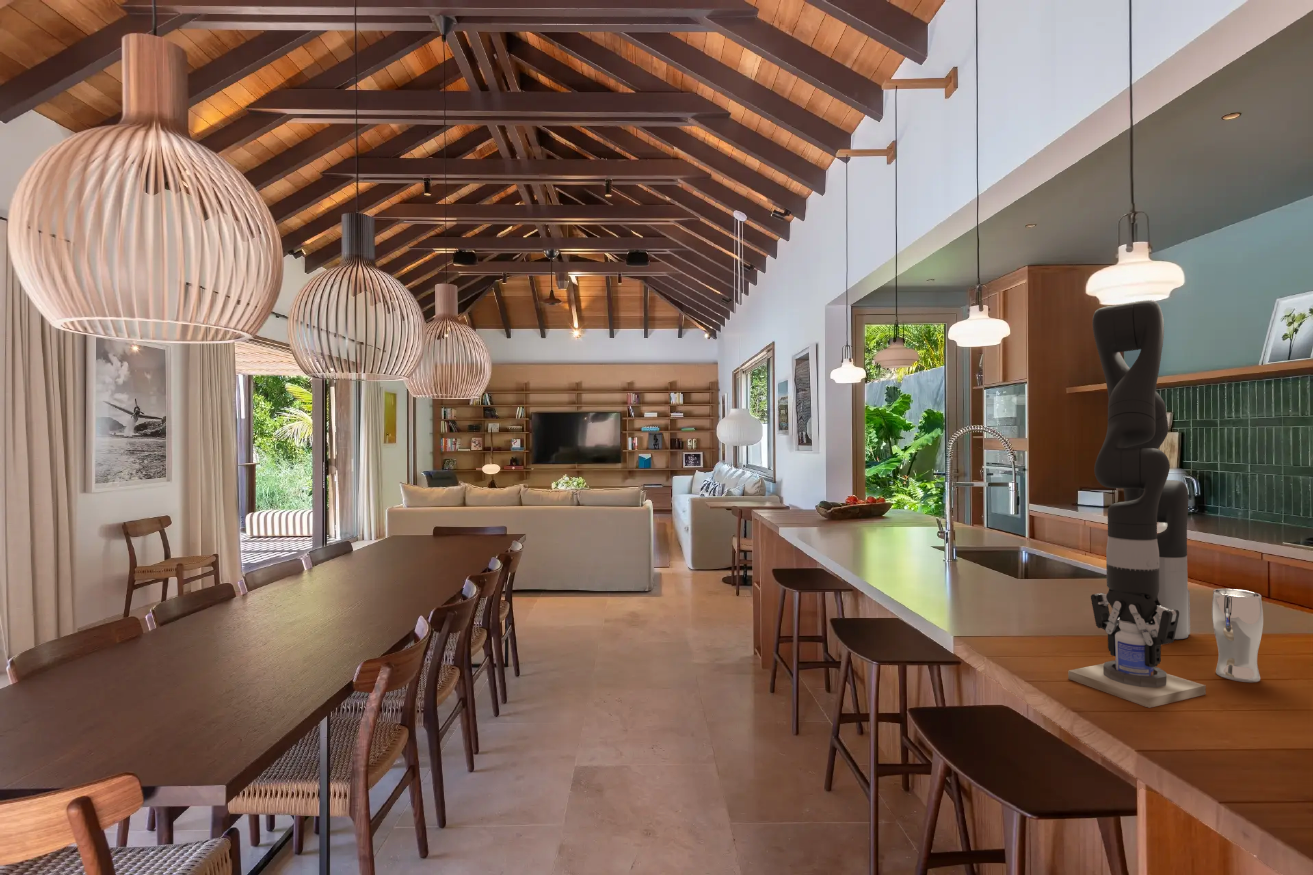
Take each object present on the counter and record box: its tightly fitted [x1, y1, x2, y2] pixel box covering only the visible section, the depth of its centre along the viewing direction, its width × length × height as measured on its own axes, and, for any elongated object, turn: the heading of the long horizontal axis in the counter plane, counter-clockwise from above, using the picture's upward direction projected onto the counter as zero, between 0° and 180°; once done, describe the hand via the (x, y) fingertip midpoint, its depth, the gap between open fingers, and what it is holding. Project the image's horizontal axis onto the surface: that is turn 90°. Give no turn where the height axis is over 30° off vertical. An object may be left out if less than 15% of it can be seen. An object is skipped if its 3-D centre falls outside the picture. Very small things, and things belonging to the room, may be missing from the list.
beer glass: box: [1211, 588, 1264, 683], centre depth 122 cm, size 7×7×15 cm
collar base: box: [1067, 659, 1207, 709], centre depth 118 cm, size 14×14×3 cm
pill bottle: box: [1115, 620, 1154, 676], centre depth 118 cm, size 5×5×10 cm
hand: (1133, 660), depth 118 cm, fingers closed on pill bottle, 5 cm apart
